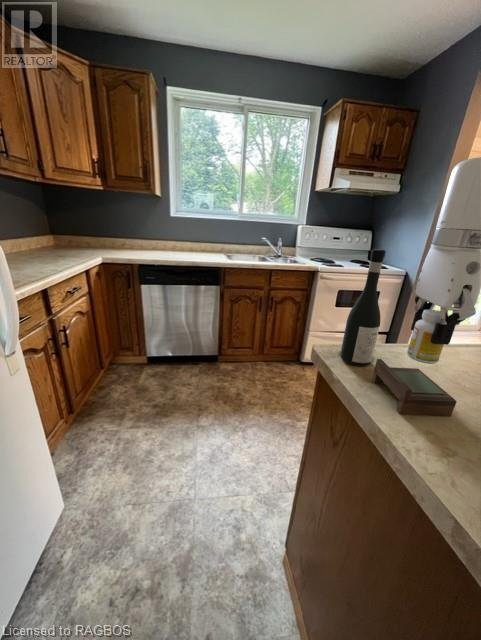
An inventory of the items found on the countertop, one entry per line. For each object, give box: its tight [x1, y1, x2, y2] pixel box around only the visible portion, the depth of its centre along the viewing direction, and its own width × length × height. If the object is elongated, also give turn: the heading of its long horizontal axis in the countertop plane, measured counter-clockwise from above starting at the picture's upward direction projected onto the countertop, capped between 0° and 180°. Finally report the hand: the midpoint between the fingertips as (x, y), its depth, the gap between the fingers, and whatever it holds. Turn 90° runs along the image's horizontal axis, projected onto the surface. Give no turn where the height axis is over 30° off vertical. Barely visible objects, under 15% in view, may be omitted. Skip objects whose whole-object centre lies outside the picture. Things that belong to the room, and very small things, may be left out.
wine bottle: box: [340, 248, 387, 367], centre depth 70 cm, size 8×8×30 cm
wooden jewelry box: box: [370, 358, 458, 418], centre depth 57 cm, size 10×12×7 cm
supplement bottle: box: [406, 309, 445, 365], centre depth 53 cm, size 5×5×10 cm
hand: (428, 336), depth 53 cm, fingers closed on supplement bottle, 5 cm apart
